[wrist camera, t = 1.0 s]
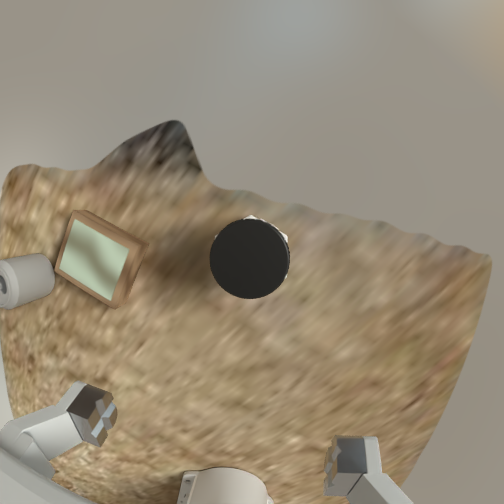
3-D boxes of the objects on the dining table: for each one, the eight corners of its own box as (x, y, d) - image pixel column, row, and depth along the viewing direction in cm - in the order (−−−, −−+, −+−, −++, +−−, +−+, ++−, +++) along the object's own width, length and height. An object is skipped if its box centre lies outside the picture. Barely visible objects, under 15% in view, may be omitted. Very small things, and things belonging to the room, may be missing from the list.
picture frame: (126, 302, 46) (113, 310, 42) (68, 267, 46) (52, 271, 42) (149, 243, 45) (137, 246, 41) (87, 210, 45) (72, 210, 41)
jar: (298, 239, 44) (309, 246, 32) (268, 290, 45) (267, 315, 33) (241, 206, 44) (230, 201, 32) (212, 257, 45) (191, 271, 33)
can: (63, 289, 47) (17, 306, 35) (36, 299, 47) (-9, 316, 35) (49, 246, 46) (2, 254, 34) (23, 260, 47) (-23, 269, 35)
